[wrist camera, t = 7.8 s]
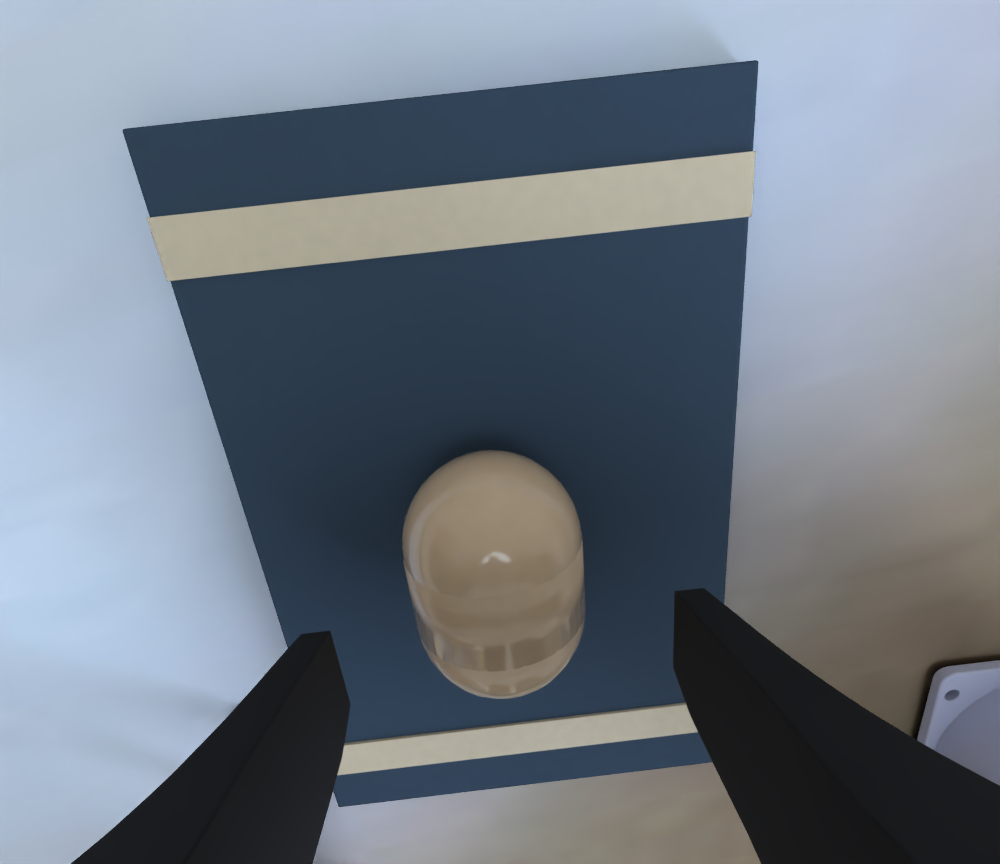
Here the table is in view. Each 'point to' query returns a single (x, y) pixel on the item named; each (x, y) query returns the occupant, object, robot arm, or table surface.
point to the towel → (475, 380)
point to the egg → (495, 573)
